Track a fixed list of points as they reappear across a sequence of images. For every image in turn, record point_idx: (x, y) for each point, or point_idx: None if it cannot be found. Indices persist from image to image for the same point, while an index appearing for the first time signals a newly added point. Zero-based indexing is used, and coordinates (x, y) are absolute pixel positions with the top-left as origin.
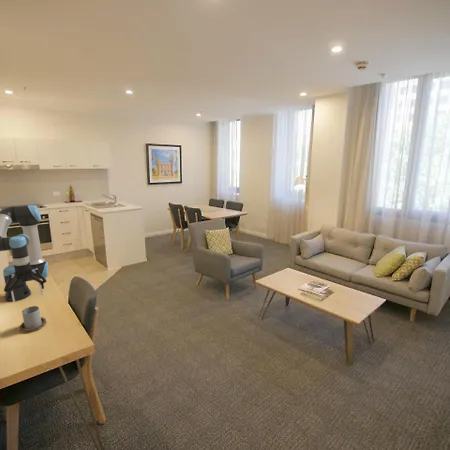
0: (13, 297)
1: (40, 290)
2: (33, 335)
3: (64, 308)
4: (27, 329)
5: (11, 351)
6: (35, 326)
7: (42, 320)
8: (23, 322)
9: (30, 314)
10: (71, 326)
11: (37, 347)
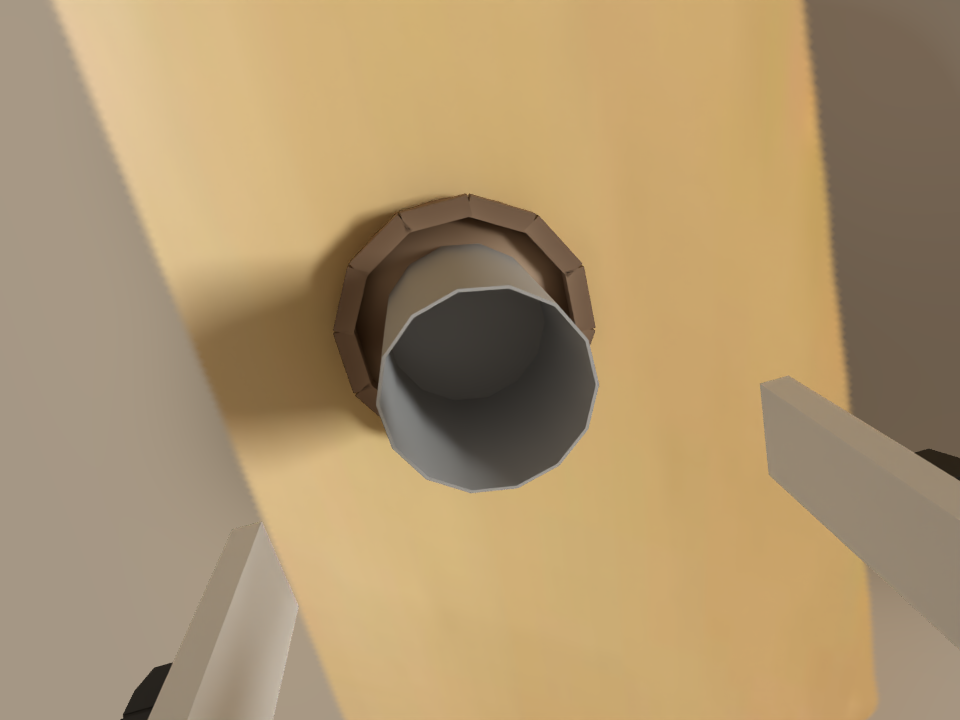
0: (269, 700)
1: (816, 456)
2: None
3: (771, 15)
4: None
5: (366, 650)
6: (499, 393)
7: (547, 263)
8: (355, 268)
9: (498, 478)
10: None
11: (548, 655)
